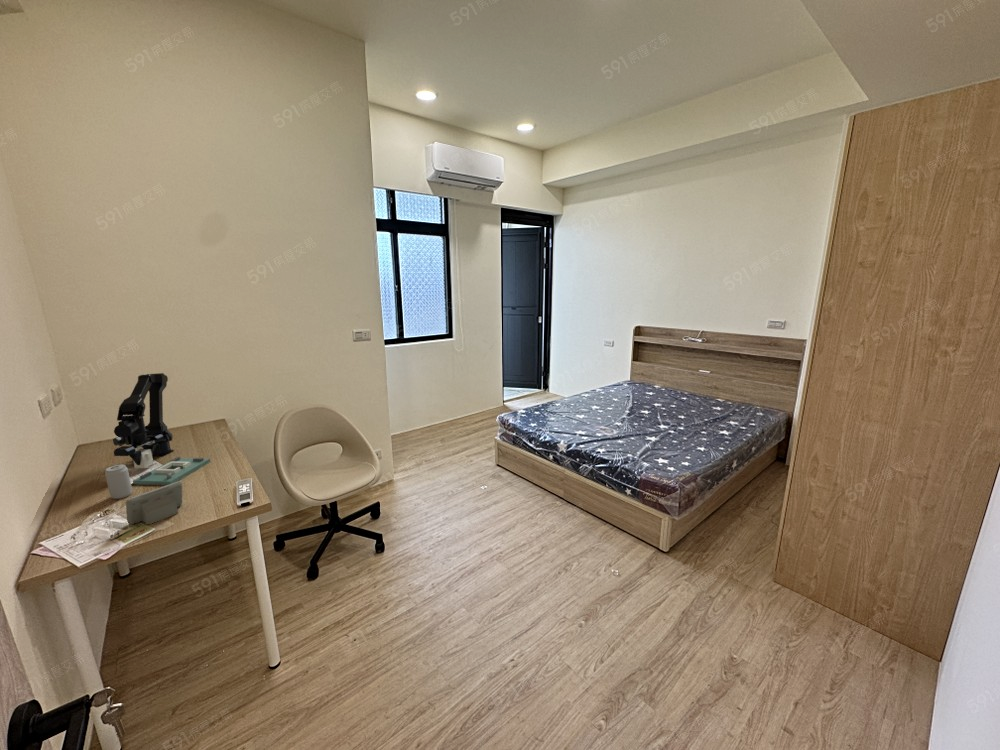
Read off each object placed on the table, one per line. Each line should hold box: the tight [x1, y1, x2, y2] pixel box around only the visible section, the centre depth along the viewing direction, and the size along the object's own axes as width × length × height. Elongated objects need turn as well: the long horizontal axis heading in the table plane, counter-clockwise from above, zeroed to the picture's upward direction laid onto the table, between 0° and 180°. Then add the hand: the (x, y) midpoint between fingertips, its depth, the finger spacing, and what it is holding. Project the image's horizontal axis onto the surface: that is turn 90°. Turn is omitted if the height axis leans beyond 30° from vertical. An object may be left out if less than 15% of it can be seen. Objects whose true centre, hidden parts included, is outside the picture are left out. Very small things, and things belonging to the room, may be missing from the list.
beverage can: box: [104, 464, 134, 500], centre depth 156 cm, size 6×6×12 cm
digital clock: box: [125, 481, 183, 525], centre depth 143 cm, size 16×9×11 cm, turn 138°
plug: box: [132, 448, 154, 469], centre depth 179 cm, size 4×6×7 cm
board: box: [132, 456, 211, 486], centre depth 176 cm, size 22×16×3 cm
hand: (143, 462), depth 179 cm, fingers closed on plug, 4 cm apart
